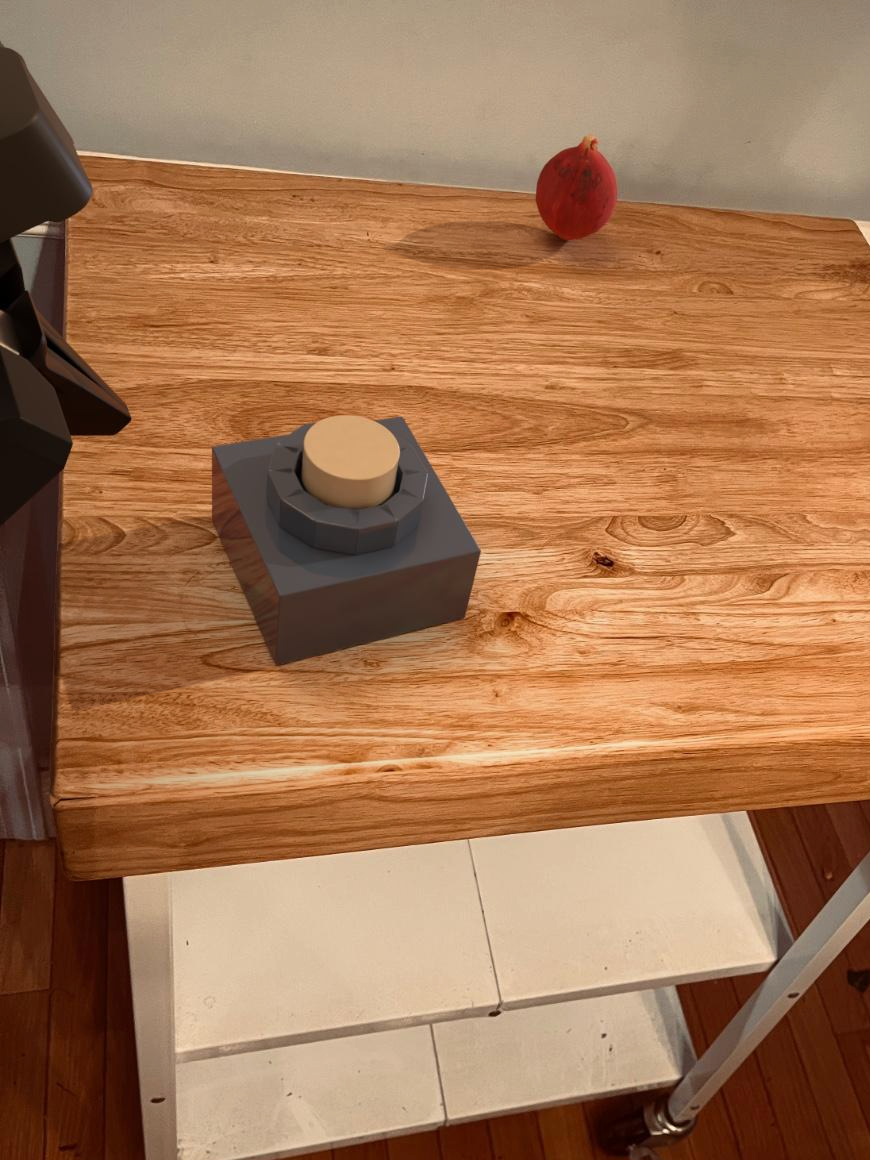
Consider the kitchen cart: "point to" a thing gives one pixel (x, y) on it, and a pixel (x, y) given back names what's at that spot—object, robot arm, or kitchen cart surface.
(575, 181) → the pomegranate
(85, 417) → the robot arm
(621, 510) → the kitchen cart surface
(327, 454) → the tan push button
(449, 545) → the grey button base
